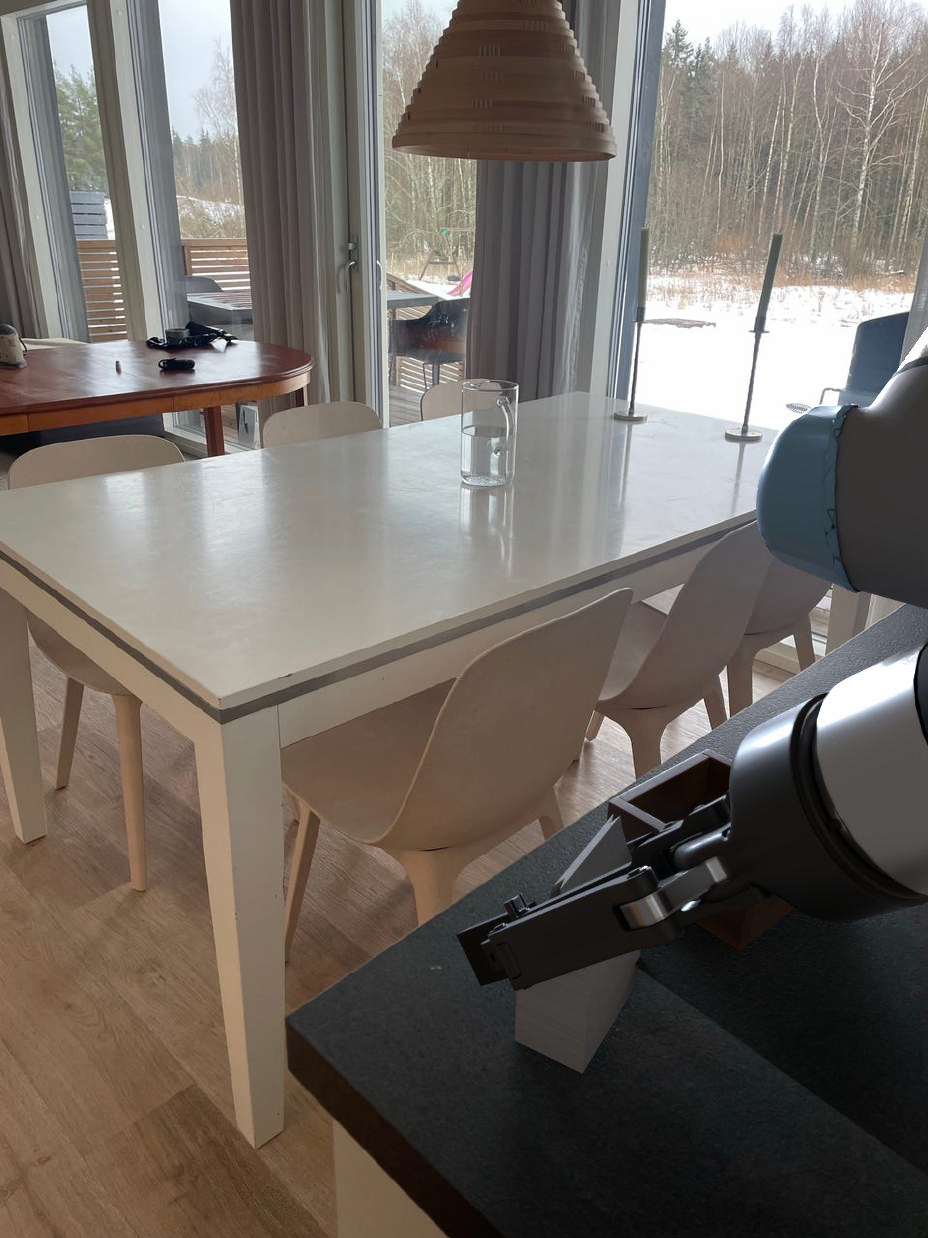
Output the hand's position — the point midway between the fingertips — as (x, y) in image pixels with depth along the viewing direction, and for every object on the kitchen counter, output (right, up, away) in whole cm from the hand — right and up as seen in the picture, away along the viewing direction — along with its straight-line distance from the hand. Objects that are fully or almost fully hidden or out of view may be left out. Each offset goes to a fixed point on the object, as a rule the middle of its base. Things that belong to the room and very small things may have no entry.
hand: (534, 920), depth 49 cm
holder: (+11, -1, +7) cm, 14 cm away
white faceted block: (+2, -4, -1) cm, 5 cm away
